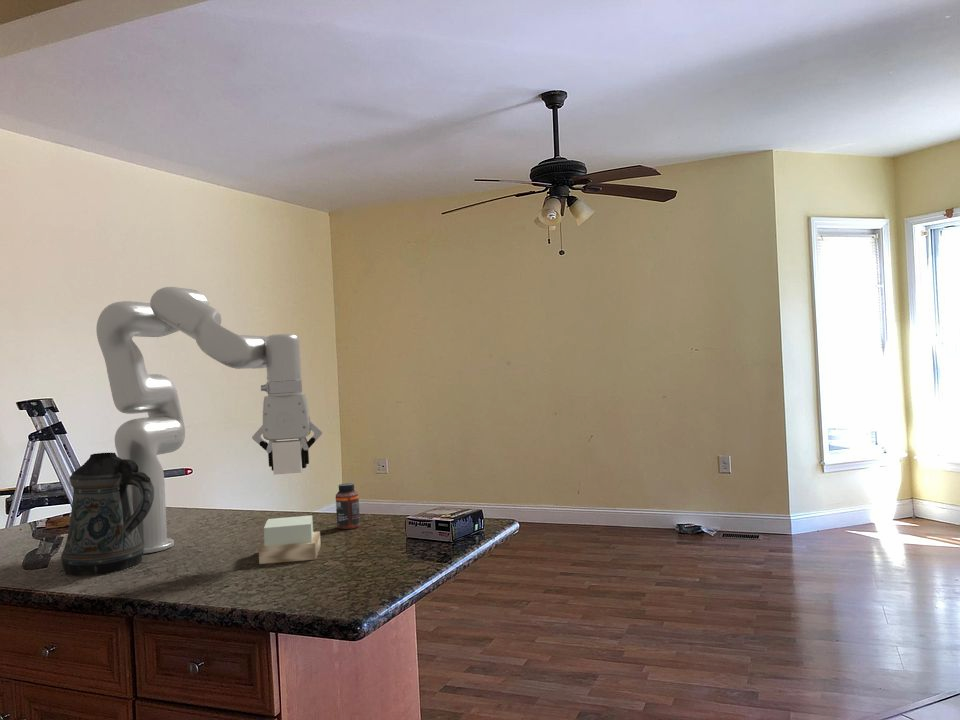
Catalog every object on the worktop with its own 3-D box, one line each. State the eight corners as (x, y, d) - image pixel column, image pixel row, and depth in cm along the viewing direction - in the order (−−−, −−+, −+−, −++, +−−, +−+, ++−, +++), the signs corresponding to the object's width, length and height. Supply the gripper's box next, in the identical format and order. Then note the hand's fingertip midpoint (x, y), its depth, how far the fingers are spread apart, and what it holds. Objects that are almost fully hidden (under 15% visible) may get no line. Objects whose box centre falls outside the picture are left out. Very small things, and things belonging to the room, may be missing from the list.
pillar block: (273, 474, 163) (272, 443, 163) (277, 471, 169) (276, 440, 169) (301, 472, 164) (299, 441, 164) (304, 469, 170) (302, 438, 170)
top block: (264, 546, 160) (263, 528, 160) (268, 536, 170) (267, 519, 170) (311, 542, 162) (310, 524, 162) (313, 532, 172) (312, 515, 172)
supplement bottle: (362, 524, 195) (360, 481, 195) (356, 529, 189) (354, 485, 189) (340, 525, 196) (338, 482, 196) (334, 530, 190) (332, 486, 190)
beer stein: (68, 562, 169) (63, 453, 169) (160, 551, 176) (155, 446, 176) (54, 581, 154) (49, 461, 154) (156, 567, 160) (151, 452, 161)
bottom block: (259, 566, 160) (258, 547, 160) (268, 552, 172) (267, 535, 172) (315, 561, 161) (315, 543, 161) (320, 548, 173) (319, 531, 173)
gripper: (242, 391, 162) (246, 473, 162) (322, 386, 164) (326, 468, 164) (248, 390, 169) (253, 469, 169) (325, 386, 171) (329, 463, 171)
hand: (289, 467), depth 167 cm, fingers closed on pillar block, 6 cm apart
